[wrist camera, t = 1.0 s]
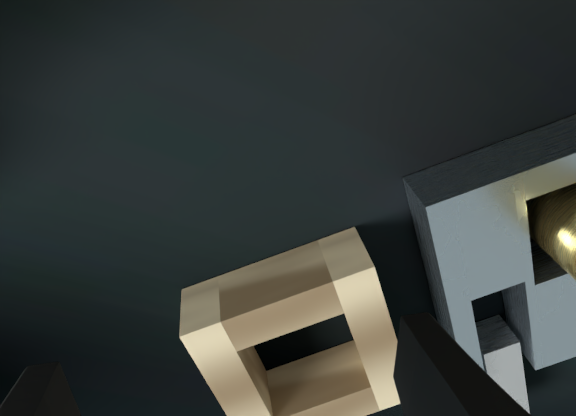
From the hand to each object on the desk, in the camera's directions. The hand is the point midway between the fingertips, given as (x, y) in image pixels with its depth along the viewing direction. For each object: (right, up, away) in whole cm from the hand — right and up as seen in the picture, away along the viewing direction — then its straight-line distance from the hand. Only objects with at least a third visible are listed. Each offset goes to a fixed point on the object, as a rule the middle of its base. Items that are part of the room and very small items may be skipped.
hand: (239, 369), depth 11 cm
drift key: (+12, -5, +17) cm, 21 cm away
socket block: (+12, +2, +13) cm, 18 cm away
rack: (+1, -2, +13) cm, 14 cm away
